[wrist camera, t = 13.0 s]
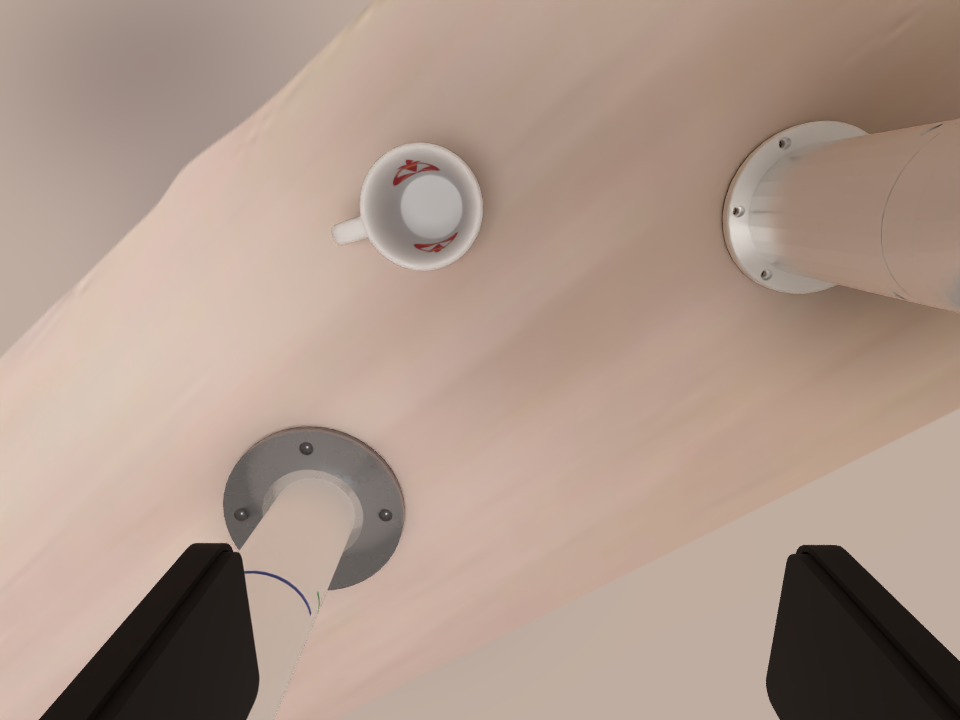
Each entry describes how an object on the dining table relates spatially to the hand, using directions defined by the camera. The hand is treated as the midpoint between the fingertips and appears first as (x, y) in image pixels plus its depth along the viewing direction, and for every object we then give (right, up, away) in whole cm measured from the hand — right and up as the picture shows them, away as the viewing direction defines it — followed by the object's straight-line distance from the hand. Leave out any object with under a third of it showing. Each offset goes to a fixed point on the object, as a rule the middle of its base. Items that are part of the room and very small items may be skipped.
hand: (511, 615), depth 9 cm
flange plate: (-15, -9, +41) cm, 44 cm away
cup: (-6, +16, +33) cm, 37 cm away
